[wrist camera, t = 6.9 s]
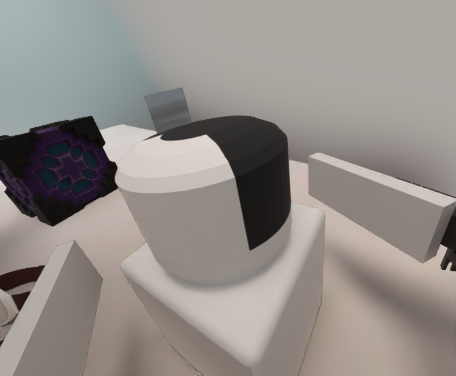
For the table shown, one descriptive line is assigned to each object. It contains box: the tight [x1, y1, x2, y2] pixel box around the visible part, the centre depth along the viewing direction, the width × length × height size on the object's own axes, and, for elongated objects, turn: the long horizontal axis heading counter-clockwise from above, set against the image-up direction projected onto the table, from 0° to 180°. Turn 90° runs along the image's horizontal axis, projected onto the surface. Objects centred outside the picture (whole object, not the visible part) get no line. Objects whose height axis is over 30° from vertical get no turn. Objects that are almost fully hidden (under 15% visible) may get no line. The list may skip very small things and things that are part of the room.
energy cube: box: [0, 116, 118, 226], centre depth 33 cm, size 12×12×12 cm
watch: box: [0, 265, 46, 326], centre depth 17 cm, size 8×5×4 cm, turn 86°
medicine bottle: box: [115, 116, 325, 376], centre depth 10 cm, size 7×7×12 cm
